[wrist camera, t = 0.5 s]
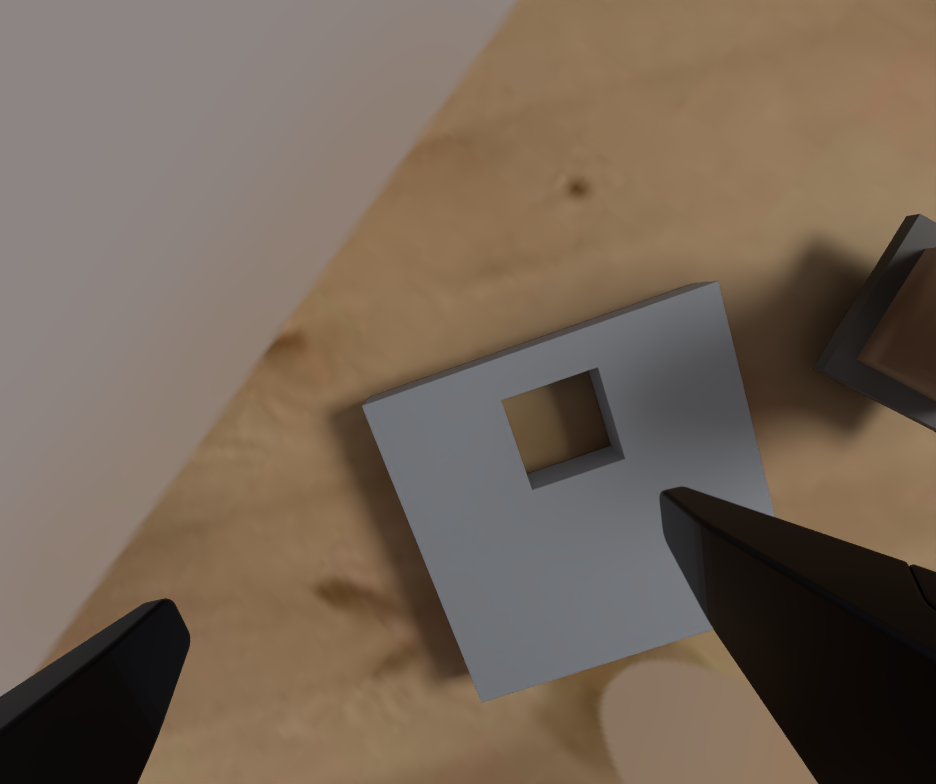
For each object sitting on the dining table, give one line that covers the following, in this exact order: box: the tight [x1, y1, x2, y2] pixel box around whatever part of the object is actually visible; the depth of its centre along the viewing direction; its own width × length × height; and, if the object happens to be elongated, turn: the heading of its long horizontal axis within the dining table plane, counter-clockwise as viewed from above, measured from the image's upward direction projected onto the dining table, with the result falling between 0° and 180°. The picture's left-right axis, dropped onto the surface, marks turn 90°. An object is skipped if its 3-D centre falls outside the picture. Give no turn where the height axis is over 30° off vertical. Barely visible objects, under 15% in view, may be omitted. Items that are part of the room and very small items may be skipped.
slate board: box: [362, 281, 775, 702], centre depth 23 cm, size 16×16×2 cm
